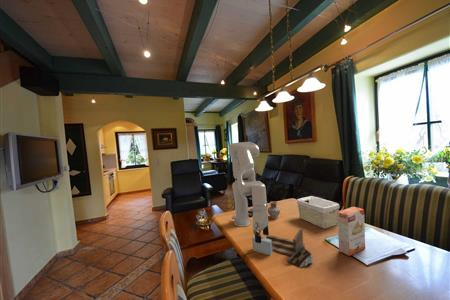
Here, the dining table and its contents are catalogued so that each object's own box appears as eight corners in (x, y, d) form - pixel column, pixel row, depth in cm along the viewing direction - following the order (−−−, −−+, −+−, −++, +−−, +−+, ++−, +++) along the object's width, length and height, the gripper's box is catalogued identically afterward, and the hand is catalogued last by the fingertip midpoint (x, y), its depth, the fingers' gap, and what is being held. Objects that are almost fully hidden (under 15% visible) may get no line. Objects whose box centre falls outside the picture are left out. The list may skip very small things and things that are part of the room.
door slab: (253, 250, 104) (252, 238, 104) (255, 247, 107) (254, 235, 107) (270, 255, 99) (269, 242, 99) (272, 252, 101) (271, 239, 101)
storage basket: (341, 225, 127) (340, 203, 127) (324, 230, 121) (323, 207, 121) (312, 214, 150) (311, 195, 149) (296, 218, 143) (295, 199, 143)
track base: (259, 247, 107) (258, 231, 107) (269, 236, 119) (268, 222, 118) (296, 257, 96) (295, 239, 95) (303, 244, 107) (302, 228, 107)
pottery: (274, 221, 141) (273, 205, 140) (251, 212, 162) (250, 198, 161) (284, 217, 147) (283, 202, 146) (261, 209, 168) (260, 195, 167)
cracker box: (350, 257, 93) (348, 214, 92) (338, 251, 98) (336, 211, 98) (366, 248, 99) (364, 208, 99) (354, 243, 105) (352, 205, 104)
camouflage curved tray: (298, 272, 85) (314, 250, 87) (286, 261, 91) (301, 240, 93) (305, 277, 91) (320, 257, 93) (293, 266, 96) (307, 246, 98)
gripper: (260, 201, 111) (262, 231, 111) (245, 210, 97) (248, 244, 97) (272, 203, 107) (274, 233, 107) (259, 212, 93) (262, 247, 93)
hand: (262, 238), depth 102 cm, fingers open, 9 cm apart
